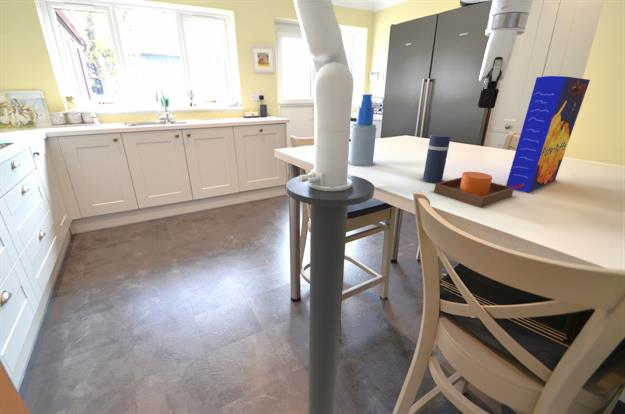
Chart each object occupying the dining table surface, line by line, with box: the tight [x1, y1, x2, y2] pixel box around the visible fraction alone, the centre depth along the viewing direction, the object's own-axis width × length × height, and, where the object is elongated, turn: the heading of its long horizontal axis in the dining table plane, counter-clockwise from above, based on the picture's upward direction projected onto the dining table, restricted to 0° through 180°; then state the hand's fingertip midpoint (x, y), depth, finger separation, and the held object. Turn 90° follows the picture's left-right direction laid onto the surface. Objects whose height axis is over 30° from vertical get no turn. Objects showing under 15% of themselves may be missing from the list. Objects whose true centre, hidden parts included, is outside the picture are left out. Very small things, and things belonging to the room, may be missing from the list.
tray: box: [433, 176, 515, 208], centre depth 77 cm, size 15×13×2 cm
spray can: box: [422, 133, 451, 184], centre depth 87 cm, size 6×6×14 cm
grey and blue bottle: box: [349, 93, 377, 167], centre depth 105 cm, size 9×9×25 cm
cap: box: [459, 171, 493, 197], centre depth 76 cm, size 7×7×5 cm
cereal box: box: [505, 75, 591, 194], centre depth 82 cm, size 22×6×30 cm, turn 126°
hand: (485, 107), depth 70 cm, fingers open, 9 cm apart
